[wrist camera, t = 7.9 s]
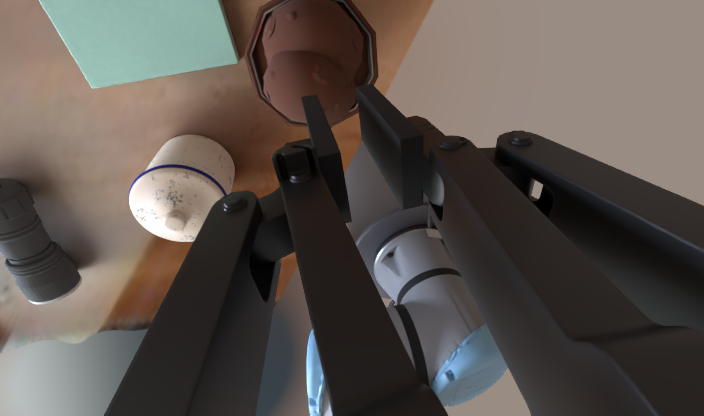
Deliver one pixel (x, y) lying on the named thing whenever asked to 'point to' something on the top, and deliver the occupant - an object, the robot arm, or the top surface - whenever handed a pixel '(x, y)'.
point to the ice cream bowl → (311, 57)
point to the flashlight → (32, 249)
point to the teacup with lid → (181, 187)
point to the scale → (142, 37)
